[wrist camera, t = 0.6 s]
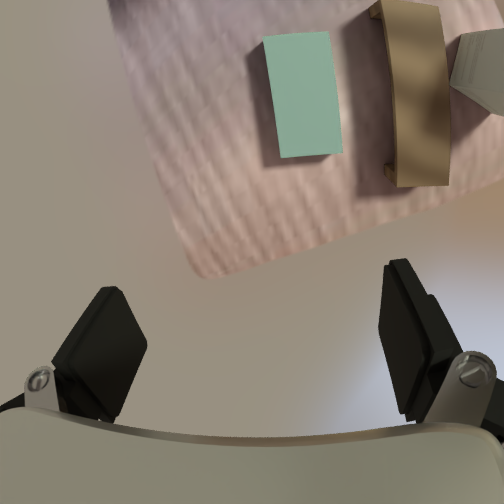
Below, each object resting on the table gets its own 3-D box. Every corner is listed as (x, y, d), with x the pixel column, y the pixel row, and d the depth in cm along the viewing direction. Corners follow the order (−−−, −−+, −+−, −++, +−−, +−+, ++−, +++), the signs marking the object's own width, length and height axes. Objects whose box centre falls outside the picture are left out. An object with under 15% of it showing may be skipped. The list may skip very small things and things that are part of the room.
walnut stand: (368, 8, 21) (380, -2, 18) (420, 13, 20) (438, 6, 17) (384, 174, 31) (397, 187, 27) (431, 173, 30) (448, 185, 26)
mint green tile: (263, 40, 25) (262, 36, 23) (325, 35, 24) (328, 31, 22) (280, 152, 31) (280, 158, 29) (338, 148, 30) (342, 153, 28)
